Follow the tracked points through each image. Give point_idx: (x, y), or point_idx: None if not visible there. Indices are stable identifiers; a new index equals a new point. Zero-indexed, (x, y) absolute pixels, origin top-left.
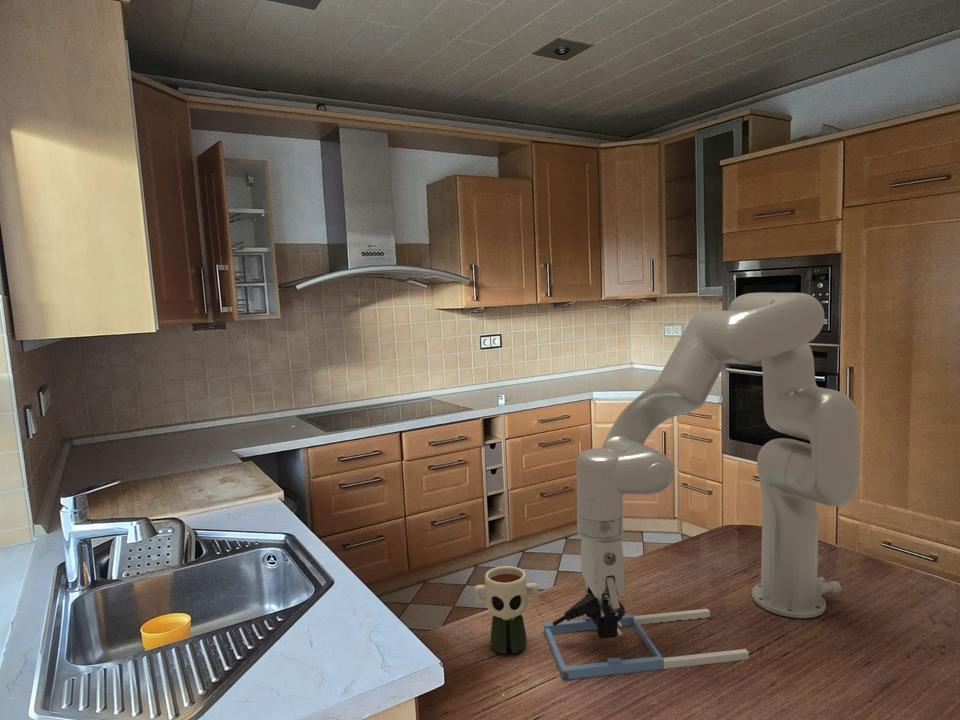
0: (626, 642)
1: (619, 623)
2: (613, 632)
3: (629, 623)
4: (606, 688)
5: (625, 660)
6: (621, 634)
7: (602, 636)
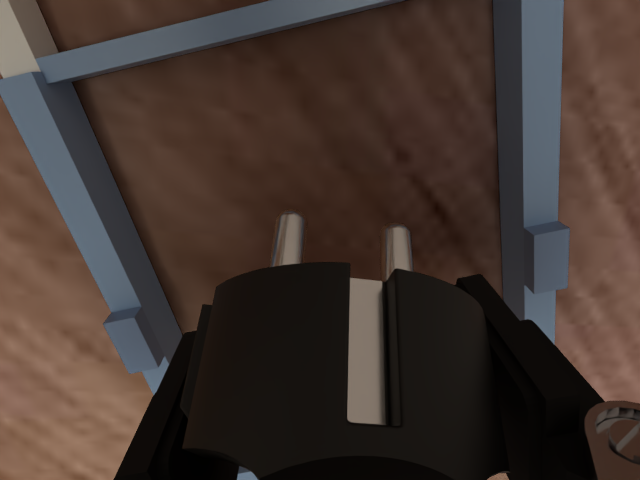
0: (262, 145)
1: (301, 237)
2: (537, 326)
3: (70, 104)
4: (613, 275)
5: (530, 197)
6: (405, 227)
7: None
